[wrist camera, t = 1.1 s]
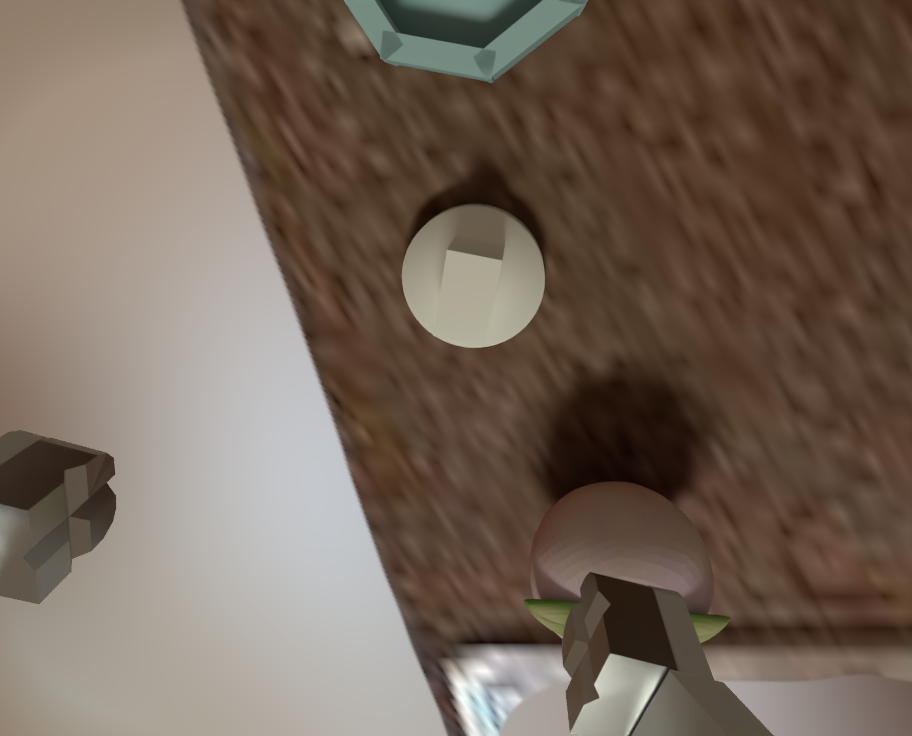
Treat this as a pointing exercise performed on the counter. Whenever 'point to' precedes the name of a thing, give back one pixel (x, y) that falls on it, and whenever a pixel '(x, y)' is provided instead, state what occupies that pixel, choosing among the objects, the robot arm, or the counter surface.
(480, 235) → the cap
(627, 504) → the decorative fruit
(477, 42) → the studded octagonal holder
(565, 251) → the counter surface
